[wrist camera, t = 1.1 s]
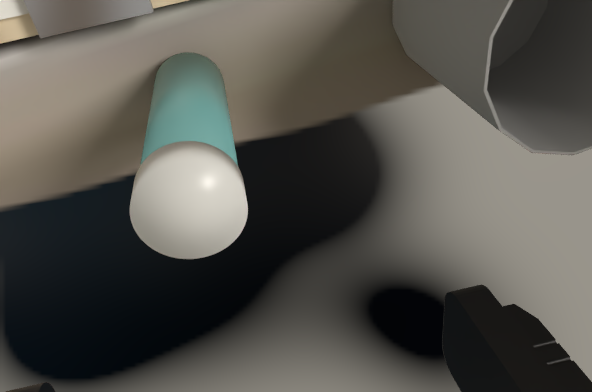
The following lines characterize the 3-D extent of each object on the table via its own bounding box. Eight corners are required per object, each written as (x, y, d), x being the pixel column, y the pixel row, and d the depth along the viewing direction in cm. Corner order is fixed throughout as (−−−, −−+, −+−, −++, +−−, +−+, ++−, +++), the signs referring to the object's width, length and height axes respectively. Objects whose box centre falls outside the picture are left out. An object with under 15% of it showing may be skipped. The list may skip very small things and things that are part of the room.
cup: (394, -89, 24) (501, -71, 16) (559, -106, 25) (744, -99, 17) (391, 85, 29) (474, 171, 20) (532, 65, 30) (667, 139, 21)
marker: (215, 39, 26) (232, 148, 16) (232, 106, 28) (258, 243, 17) (143, 56, 26) (111, 177, 15) (166, 122, 28) (152, 270, 17)
